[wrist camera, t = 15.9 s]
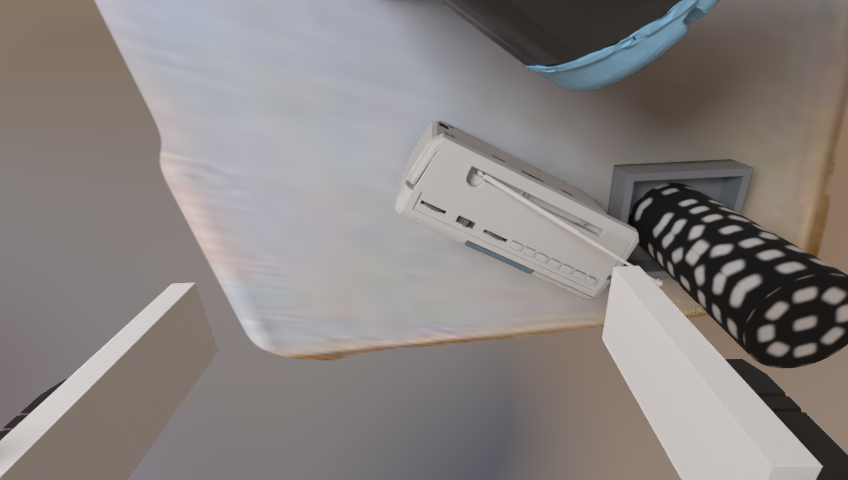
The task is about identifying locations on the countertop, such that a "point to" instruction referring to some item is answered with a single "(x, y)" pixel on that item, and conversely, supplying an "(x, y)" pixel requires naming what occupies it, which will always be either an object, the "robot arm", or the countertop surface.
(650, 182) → the tray
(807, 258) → the spotted tube
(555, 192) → the stereo radio cassette player
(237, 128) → the countertop surface
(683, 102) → the countertop surface
